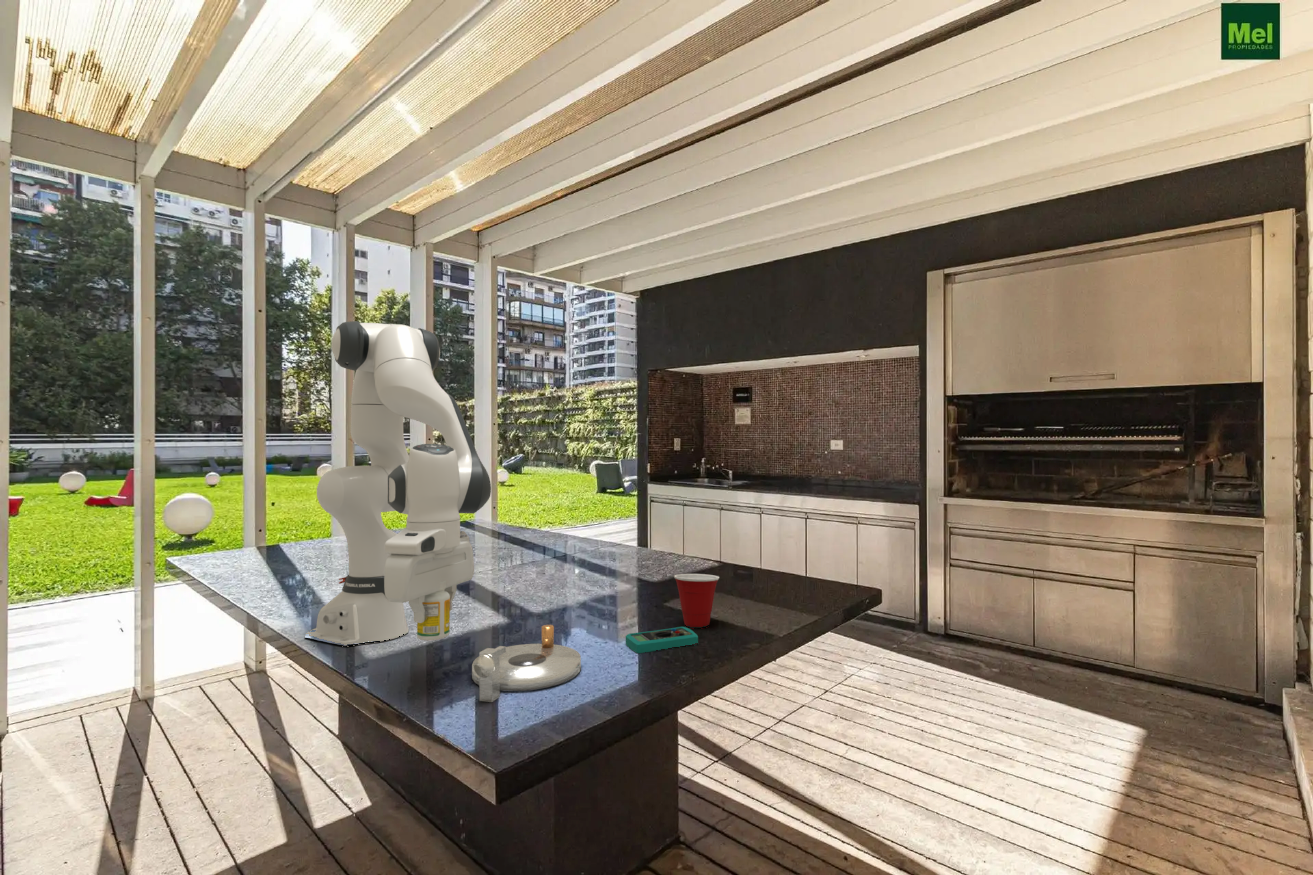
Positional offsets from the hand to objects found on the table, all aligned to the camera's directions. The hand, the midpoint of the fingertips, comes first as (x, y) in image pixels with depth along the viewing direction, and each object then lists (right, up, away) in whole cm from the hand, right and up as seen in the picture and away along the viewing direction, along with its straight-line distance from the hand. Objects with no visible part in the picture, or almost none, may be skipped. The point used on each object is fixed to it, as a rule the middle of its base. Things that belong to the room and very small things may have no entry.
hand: (433, 616), depth 107 cm
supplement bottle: (0, -4, 0) cm, 4 cm away
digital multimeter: (+40, -14, +25) cm, 49 cm away
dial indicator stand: (+11, -13, -3) cm, 17 cm away
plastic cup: (+49, -14, +39) cm, 64 cm away
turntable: (+14, -13, +9) cm, 21 cm away
